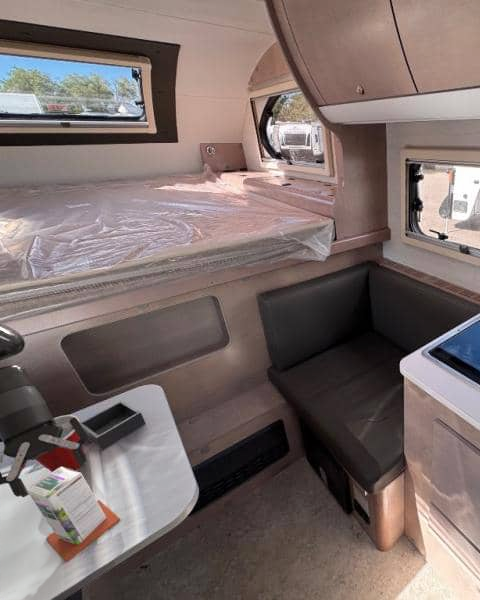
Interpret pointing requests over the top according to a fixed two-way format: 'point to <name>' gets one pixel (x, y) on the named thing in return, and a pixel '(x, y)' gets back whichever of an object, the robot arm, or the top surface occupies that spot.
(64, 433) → the plastic cup
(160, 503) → the top surface
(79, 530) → the syrup box
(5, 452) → the robot arm
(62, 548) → the mat
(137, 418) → the caddy
